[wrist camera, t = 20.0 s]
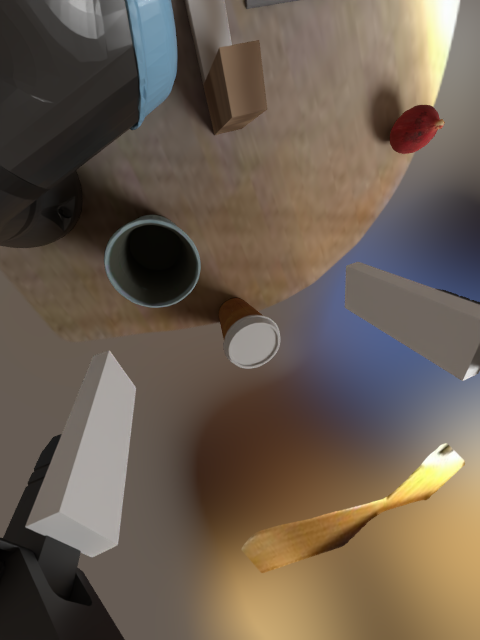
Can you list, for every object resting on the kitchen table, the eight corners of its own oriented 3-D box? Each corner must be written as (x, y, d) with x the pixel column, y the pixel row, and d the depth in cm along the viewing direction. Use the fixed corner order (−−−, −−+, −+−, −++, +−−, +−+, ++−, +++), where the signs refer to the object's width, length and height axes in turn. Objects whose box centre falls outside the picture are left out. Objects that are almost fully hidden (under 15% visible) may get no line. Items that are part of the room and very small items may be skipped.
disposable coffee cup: (244, 280, 43) (269, 307, 33) (263, 316, 48) (290, 349, 38) (200, 307, 43) (213, 342, 33) (225, 340, 48) (242, 380, 38)
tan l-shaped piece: (214, 135, 31) (232, 117, 24) (156, -123, 21) (156, -297, 14) (241, 128, 32) (267, 109, 24) (198, -126, 22) (219, -295, 14)
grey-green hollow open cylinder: (190, 214, 35) (202, 224, 25) (188, 278, 40) (198, 308, 30) (115, 206, 32) (96, 213, 22) (123, 276, 36) (110, 309, 26)
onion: (379, 162, 40) (423, 157, 33) (376, 123, 37) (424, 108, 30) (407, 146, 40) (456, 137, 33) (407, 105, 37) (461, 86, 30)
